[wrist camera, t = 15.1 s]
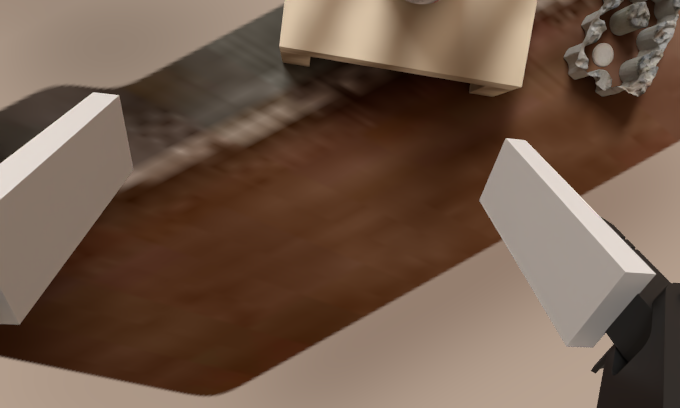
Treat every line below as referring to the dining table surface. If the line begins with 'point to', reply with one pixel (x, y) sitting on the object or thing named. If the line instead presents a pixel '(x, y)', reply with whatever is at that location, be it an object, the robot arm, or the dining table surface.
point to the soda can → (422, 1)
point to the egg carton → (624, 21)
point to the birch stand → (416, 38)
